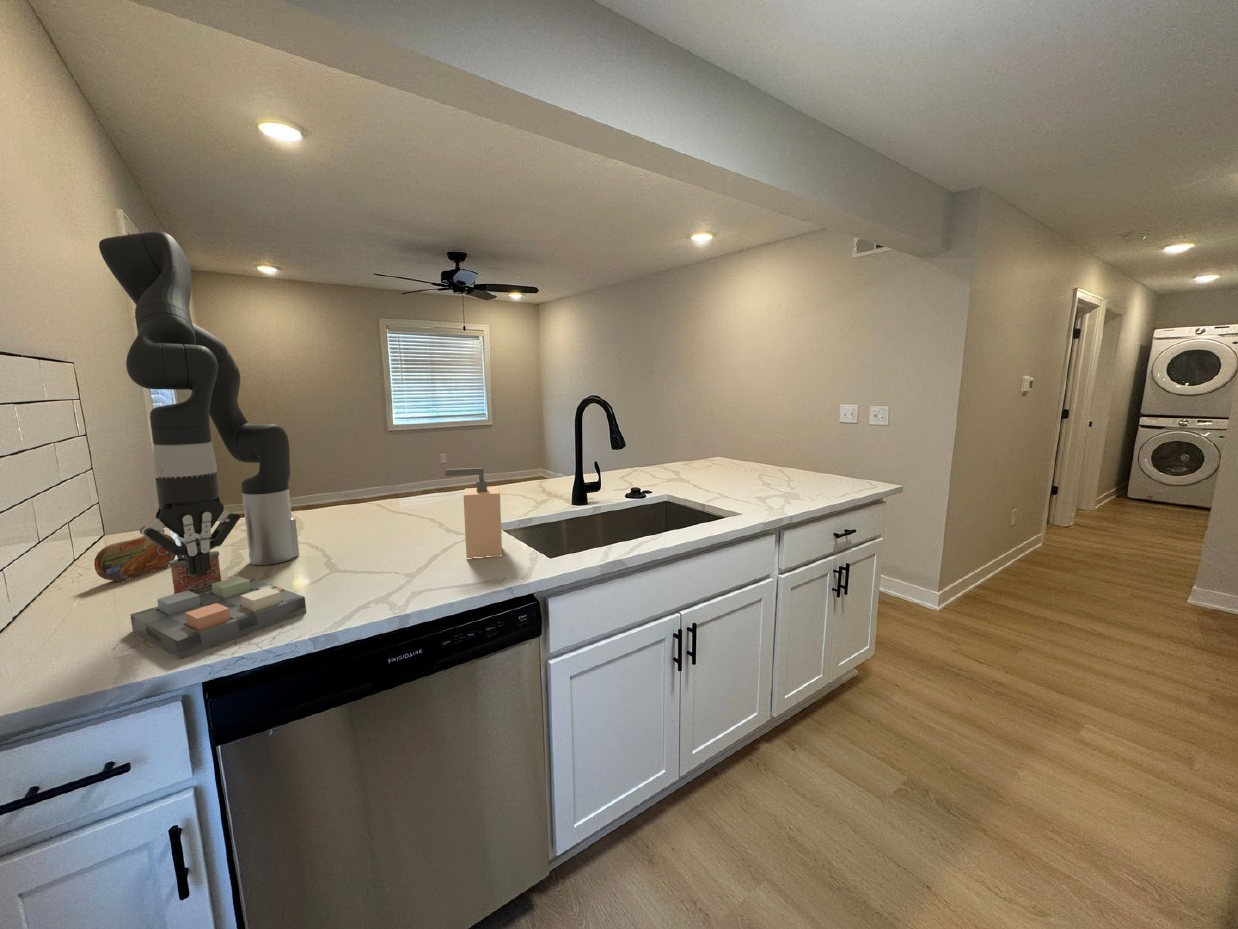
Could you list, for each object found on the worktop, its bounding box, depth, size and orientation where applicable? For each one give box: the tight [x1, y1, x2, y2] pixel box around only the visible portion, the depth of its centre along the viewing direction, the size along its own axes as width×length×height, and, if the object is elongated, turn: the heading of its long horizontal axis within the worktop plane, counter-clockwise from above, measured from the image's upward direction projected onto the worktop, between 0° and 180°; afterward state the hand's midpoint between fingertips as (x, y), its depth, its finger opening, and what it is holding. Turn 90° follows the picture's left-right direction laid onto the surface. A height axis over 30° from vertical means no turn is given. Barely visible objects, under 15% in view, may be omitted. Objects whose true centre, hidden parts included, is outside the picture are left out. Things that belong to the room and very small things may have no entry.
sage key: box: [212, 576, 251, 599], centre depth 96 cm, size 4×4×2 cm
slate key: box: [156, 590, 201, 616], centre depth 89 cm, size 4×4×2 cm
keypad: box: [130, 578, 307, 660], centre depth 90 cm, size 19×19×3 cm
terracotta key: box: [185, 603, 230, 631], centre depth 83 cm, size 4×4×2 cm
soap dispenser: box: [444, 467, 503, 558], centre depth 126 cm, size 13×9×22 cm
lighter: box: [168, 550, 222, 595], centre depth 103 cm, size 8×3×10 cm, turn 148°
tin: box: [93, 533, 177, 582], centre depth 113 cm, size 15×3×8 cm, turn 168°
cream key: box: [241, 587, 281, 612], centre depth 90 cm, size 4×4×2 cm
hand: (198, 575), depth 82 cm, fingers closed
